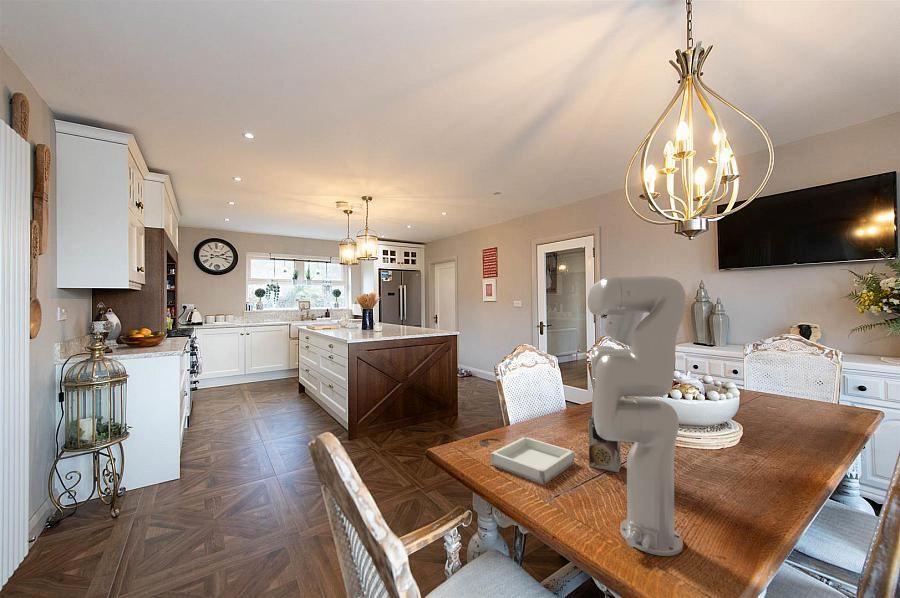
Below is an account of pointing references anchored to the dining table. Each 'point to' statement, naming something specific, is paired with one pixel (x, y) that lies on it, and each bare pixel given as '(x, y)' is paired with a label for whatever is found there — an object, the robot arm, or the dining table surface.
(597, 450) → the coffee box
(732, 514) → the dining table surface
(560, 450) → the tray
